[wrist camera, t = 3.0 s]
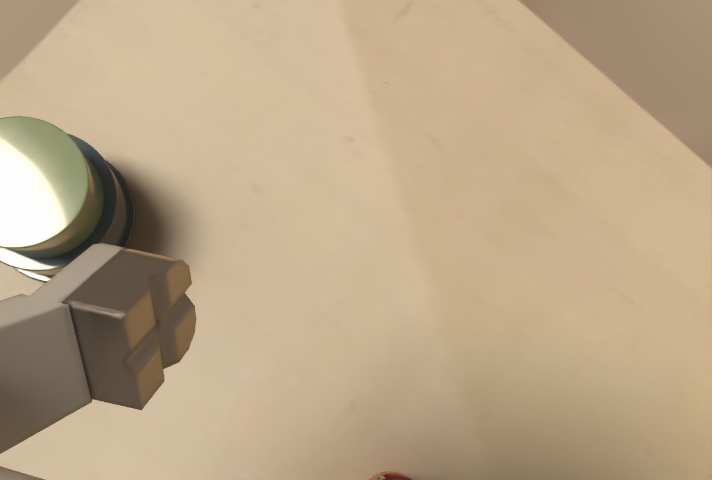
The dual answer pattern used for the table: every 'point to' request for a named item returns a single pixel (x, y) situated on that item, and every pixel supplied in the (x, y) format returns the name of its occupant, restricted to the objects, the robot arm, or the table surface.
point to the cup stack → (56, 198)
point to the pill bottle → (388, 476)
